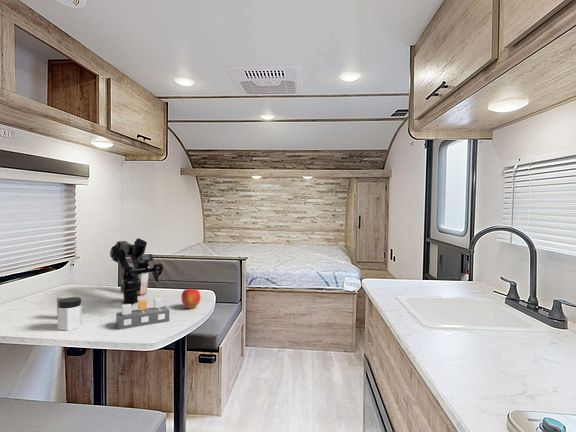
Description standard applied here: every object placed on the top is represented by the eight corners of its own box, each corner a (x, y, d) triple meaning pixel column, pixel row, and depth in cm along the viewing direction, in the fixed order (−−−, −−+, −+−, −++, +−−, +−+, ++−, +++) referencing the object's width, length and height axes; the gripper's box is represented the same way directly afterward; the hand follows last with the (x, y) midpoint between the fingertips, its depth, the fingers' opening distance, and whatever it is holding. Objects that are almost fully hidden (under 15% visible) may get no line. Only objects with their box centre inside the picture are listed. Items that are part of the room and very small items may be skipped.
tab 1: (121, 314, 150) (121, 305, 149) (130, 312, 152) (130, 303, 151) (122, 315, 148) (122, 306, 148) (131, 314, 150) (131, 304, 150)
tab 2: (137, 309, 156) (137, 300, 156) (146, 308, 158) (146, 299, 158) (138, 310, 155) (138, 301, 155) (146, 309, 157) (146, 300, 157)
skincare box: (74, 317, 161) (74, 295, 161) (66, 320, 157) (66, 298, 156) (64, 316, 162) (64, 295, 161) (56, 319, 157) (56, 297, 157)
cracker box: (147, 293, 203) (150, 258, 204) (139, 295, 198) (143, 258, 199) (128, 291, 208) (131, 256, 209) (120, 292, 202) (124, 256, 203)
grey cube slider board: (116, 323, 153) (116, 312, 153) (165, 316, 164) (165, 305, 164) (118, 329, 146) (118, 317, 146) (169, 321, 157) (169, 310, 157)
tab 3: (154, 307, 160) (154, 298, 160) (161, 306, 162) (161, 297, 162) (154, 308, 159) (154, 299, 158) (162, 307, 161) (162, 298, 160)
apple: (200, 310, 174) (200, 290, 174) (180, 311, 172) (180, 291, 172) (200, 304, 183) (200, 286, 183) (182, 305, 181) (182, 286, 181)
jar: (78, 322, 154) (78, 295, 153) (85, 326, 149) (85, 299, 148) (54, 327, 147) (54, 299, 147) (61, 332, 142) (61, 303, 141)
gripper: (121, 251, 166) (131, 272, 156) (160, 248, 178) (170, 268, 169) (118, 268, 170) (126, 290, 161) (155, 264, 183) (165, 284, 173)
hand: (148, 282), depth 166 cm, fingers open, 9 cm apart
